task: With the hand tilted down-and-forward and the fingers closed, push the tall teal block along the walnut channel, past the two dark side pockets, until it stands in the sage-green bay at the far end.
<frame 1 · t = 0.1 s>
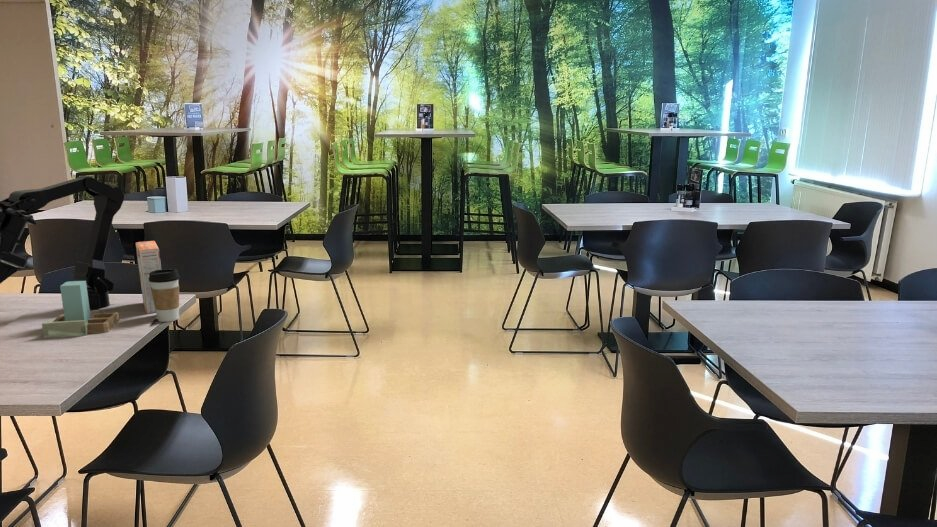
coffee cup: (168, 319, 196), on the table
block: (75, 303, 186), point 7 cm above the table, slide at 0.0 cm
trap channel: (75, 331, 184), on the table
cracker box: (154, 310, 205), on the table
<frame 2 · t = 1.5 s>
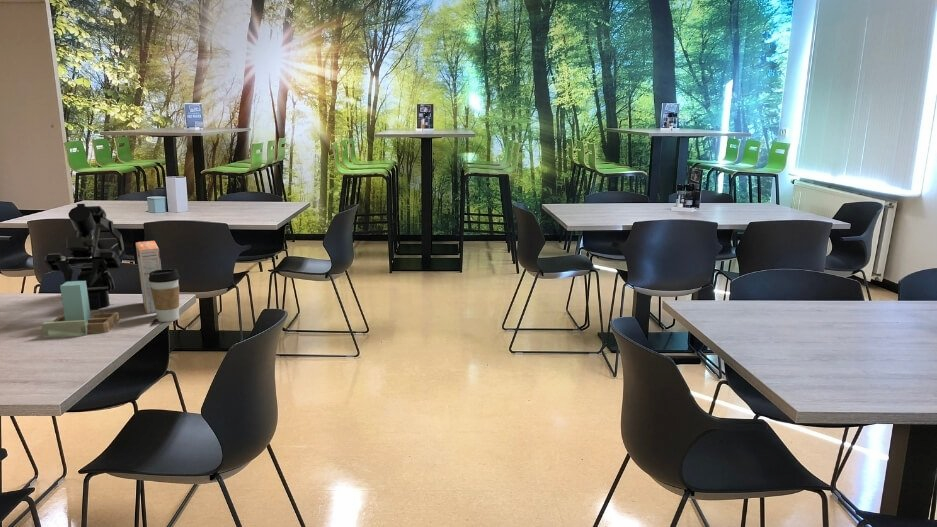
hand: (78, 285, 189), 12 cm above the table, tool tilted 45°, fingers open, 6 cm apart
nothing on the table moved.
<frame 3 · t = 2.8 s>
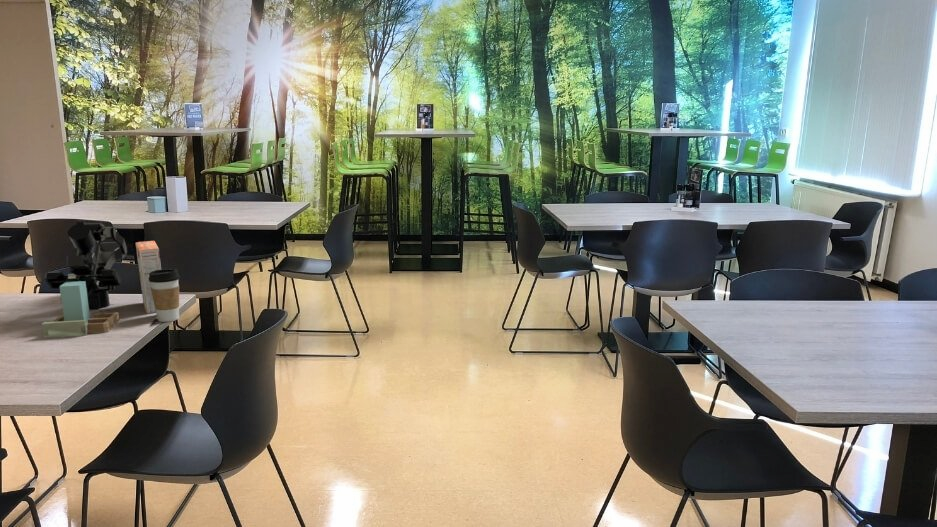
hand: (79, 303, 188), 7 cm above the table, tool tilted 45°, fingers closed, pressing on block
block: (75, 304, 185), point 7 cm above the table, slide at 0.5 cm, touching gripper
everything else where it was.
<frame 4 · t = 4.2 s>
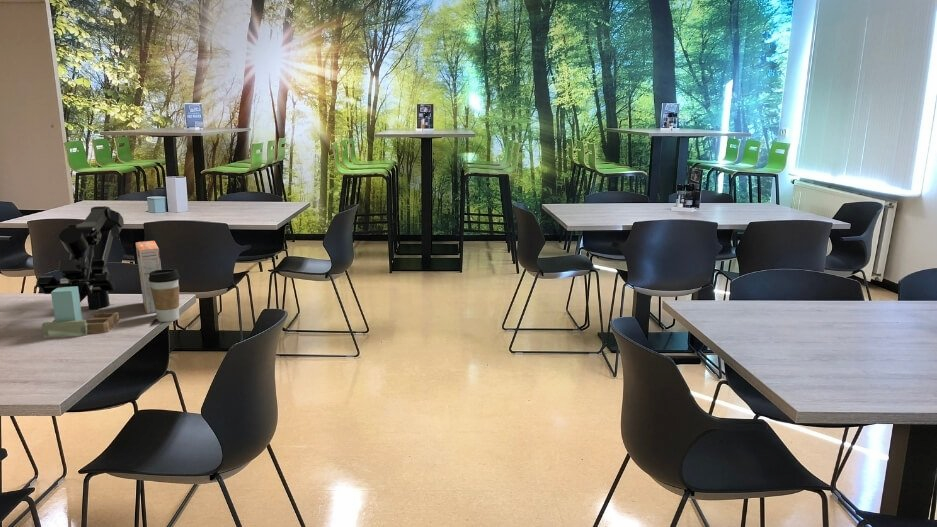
hand: (71, 309, 182), 7 cm above the table, tool tilted 45°, fingers closed, pressing on block
block: (67, 310, 180), point 7 cm above the table, slide at 6.5 cm, touching gripper
everything else where it was.
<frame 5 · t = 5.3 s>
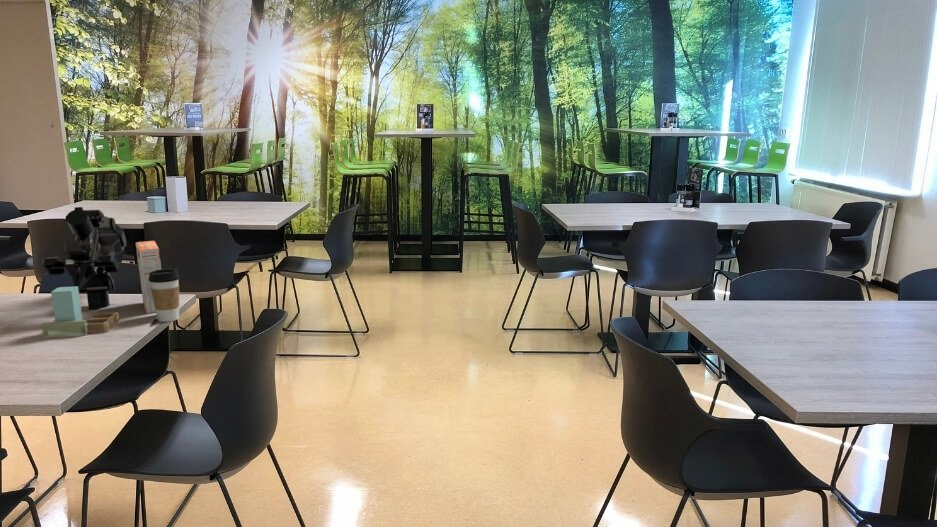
hand: (76, 289, 187), 11 cm above the table, tool tilted 45°, fingers closed
block: (67, 310, 180), point 7 cm above the table, slide at 6.5 cm
everything else where it was.
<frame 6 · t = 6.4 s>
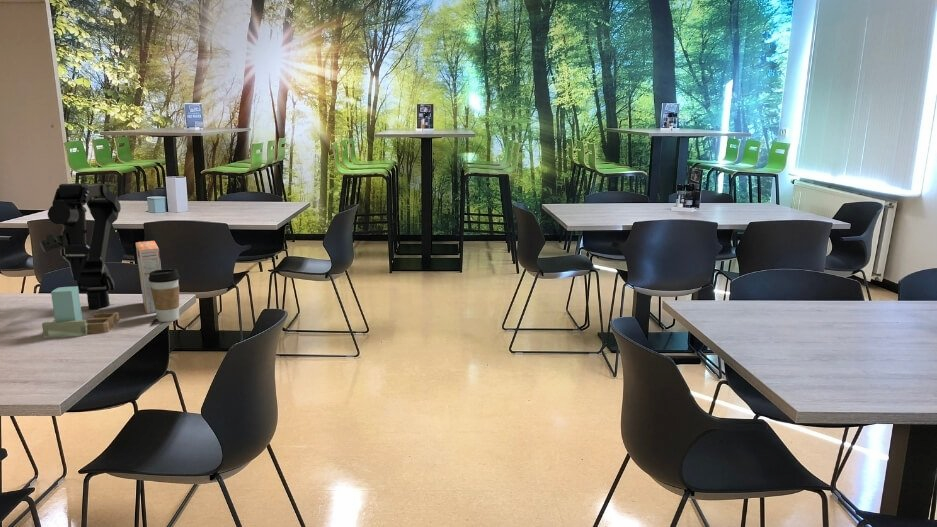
hand: (75, 280, 189), 13 cm above the table, tool pointing down, fingers closed
nothing on the table moved.
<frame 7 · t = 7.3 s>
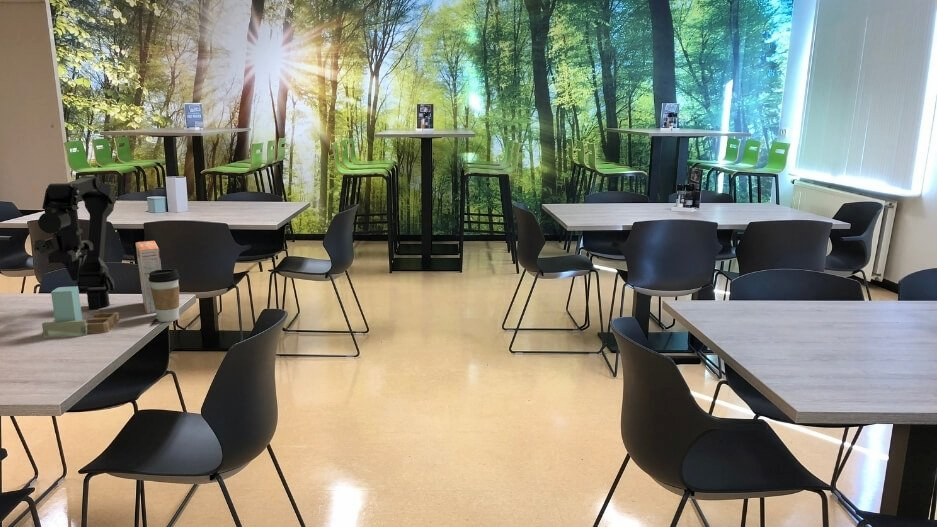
hand: (74, 280, 189), 13 cm above the table, tool pointing down, fingers closed
nothing on the table moved.
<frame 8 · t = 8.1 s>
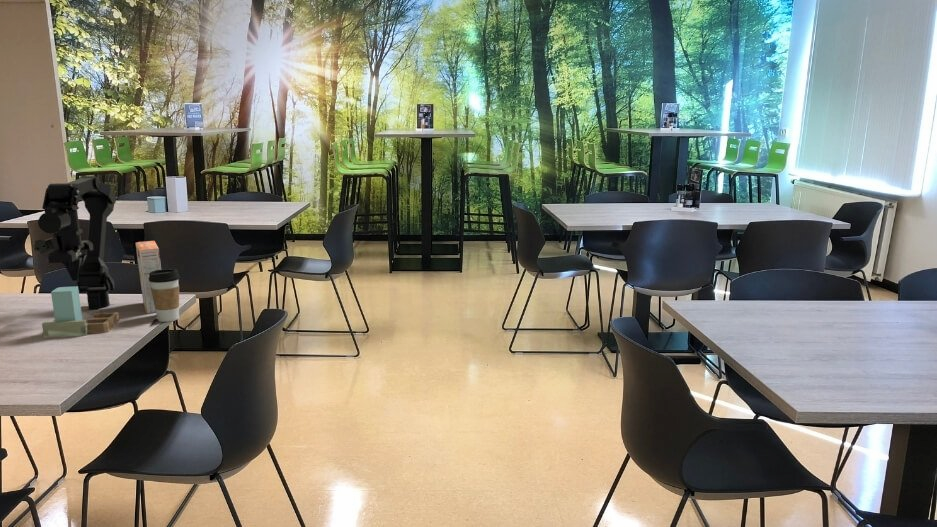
hand: (74, 280, 189), 13 cm above the table, tool pointing down, fingers closed
nothing on the table moved.
at the end: block slide at 6.5 cm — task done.
